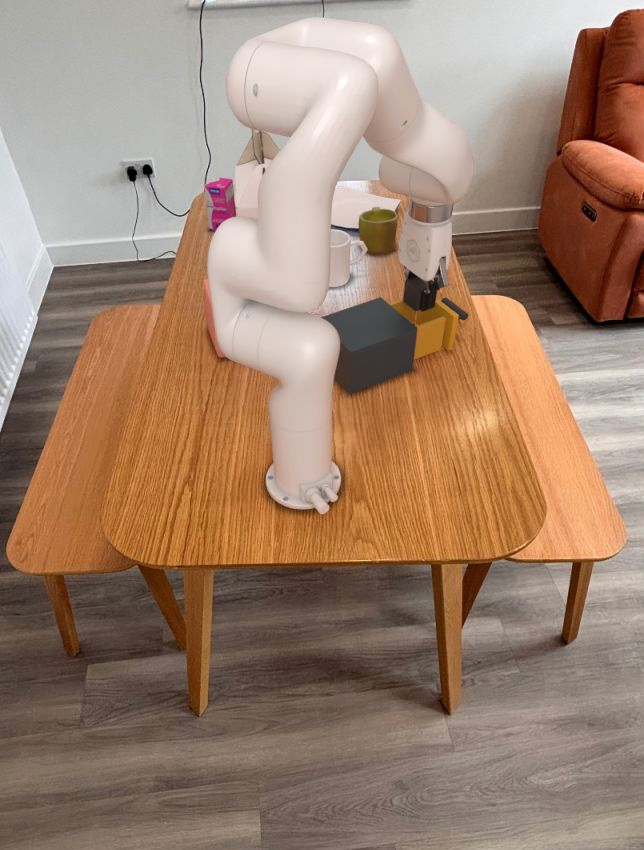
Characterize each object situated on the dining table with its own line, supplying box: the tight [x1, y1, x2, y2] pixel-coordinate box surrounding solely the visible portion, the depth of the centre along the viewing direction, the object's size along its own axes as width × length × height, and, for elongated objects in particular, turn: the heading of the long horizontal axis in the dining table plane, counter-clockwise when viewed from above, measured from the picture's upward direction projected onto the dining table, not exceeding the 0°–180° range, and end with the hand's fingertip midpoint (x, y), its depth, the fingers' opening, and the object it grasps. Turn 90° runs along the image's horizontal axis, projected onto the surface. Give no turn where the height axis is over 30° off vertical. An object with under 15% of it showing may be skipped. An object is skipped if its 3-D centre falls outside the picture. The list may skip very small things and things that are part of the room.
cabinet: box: [320, 296, 418, 395], centre depth 124 cm, size 15×13×10 cm
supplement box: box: [203, 176, 237, 232], centre depth 164 cm, size 6×6×12 cm
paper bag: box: [234, 129, 281, 219], centre depth 146 cm, size 22×13×28 cm, turn 5°
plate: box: [331, 185, 402, 232], centre depth 169 cm, size 20×20×3 cm
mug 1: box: [329, 228, 368, 288], centre depth 146 cm, size 8×12×10 cm
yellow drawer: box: [388, 296, 469, 361], centre depth 128 cm, size 18×11×8 cm, turn 119°
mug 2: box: [358, 207, 399, 255], centre depth 156 cm, size 12×10×10 cm
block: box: [402, 276, 434, 312], centre depth 122 cm, size 4×4×4 cm
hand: (419, 301), depth 124 cm, fingers closed on block, 4 cm apart
